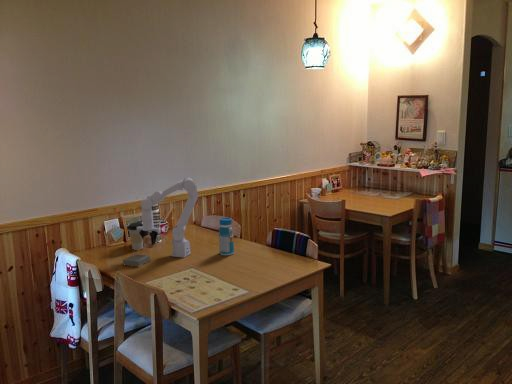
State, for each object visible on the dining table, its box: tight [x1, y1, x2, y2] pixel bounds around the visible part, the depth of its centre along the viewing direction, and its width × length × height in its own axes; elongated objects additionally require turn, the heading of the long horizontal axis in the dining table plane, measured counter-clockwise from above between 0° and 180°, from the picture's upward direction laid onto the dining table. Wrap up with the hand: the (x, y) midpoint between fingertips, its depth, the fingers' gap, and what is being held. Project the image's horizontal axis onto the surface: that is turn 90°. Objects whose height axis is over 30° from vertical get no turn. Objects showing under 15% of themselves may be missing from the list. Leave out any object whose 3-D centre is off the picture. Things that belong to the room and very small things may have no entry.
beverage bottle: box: [218, 217, 235, 256], centre depth 260 cm, size 8×8×20 cm
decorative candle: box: [148, 203, 163, 244], centre depth 287 cm, size 9×9×25 cm
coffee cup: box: [127, 222, 144, 251], centre depth 274 cm, size 9×9×15 cm
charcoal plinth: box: [122, 253, 151, 267], centre depth 251 cm, size 10×10×3 cm
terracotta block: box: [143, 235, 157, 249], centre depth 257 cm, size 4×4×6 cm
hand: (149, 243), depth 258 cm, fingers closed on terracotta block, 4 cm apart
